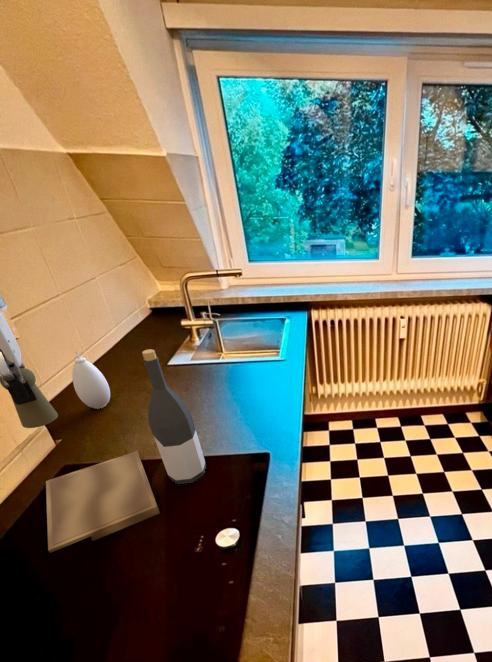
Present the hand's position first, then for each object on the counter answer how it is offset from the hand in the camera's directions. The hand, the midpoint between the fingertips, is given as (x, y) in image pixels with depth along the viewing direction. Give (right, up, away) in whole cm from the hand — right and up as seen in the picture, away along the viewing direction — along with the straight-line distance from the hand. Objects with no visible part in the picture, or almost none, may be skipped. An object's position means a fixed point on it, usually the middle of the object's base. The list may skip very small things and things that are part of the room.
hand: (26, 394), depth 75 cm
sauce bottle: (-11, -2, +37) cm, 39 cm away
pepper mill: (0, -5, +3) cm, 6 cm away
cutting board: (+11, -22, +6) cm, 25 cm away
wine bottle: (+26, -17, +13) cm, 34 cm away
